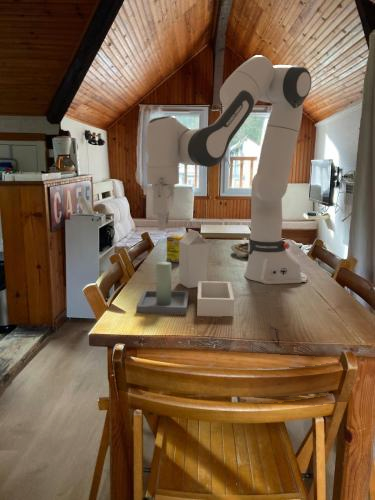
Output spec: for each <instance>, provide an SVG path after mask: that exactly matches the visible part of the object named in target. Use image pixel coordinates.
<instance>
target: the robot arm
mask: <svg viewBox="0 0 375 500" xmlns="http://www.w3.org/2000/svg"><path fill="white" fill-rule="evenodd" d="M311 88H312V76H311V74H310V71H309V69H307V68H306V67H304V66H302V65H295V64H294V65H285V64H278V65H274V64H273V63H272V62H271V60H270V59H269V58H267V57H266V56H265V55H264V56H263V55H254V56H252V57H251V58H248V59H247V60H246V61H244V62H243V63H242V64H240V66H238V67H237V68H236V69H235V70H233V72H232V73H231V74H230V75H229V76H228V77H227V79H225V81H224V83H223V84H222V85H221V87H220V89H219V99H220V103H221V105H222V106H223V108H224V110H223V111H221V112H222V113H221V114H220V115H219V116H218V118H217V119H216V120H215V121H214V122H213V123H212V124H210V125H208V126H206V127H202V128H195V129H191V128H190V127H187V126H186V125H184V124H182V123H181V122H180V121H179V120H178V119H177V118H176V116H174V115H166V116H160V117H154V118H152V119H150V120H149V122H147V123H148V124H147V127H146V135H145V136H146V141H145V146H146V149H145V150H146V154H147V162H146V183H147V185H151V190H152V214H153V215H154V216H157V217H156V218H157V223H158V230H159V231H165V230H166V225H168V224H169V222H170V220H169V219H170V210H171V208H172V207H173V203H174V197H175V196H174V195H175V185H178V184H180V164H182V165H184V166H185V165H186V166H187V165H188V166H201V167H207V168H212V167H215V166H217V165H219V164H220V163H221V162H222V161H223V160H224V158H225V156H226V154H227V151H228V148H229V146H230V143H231V142H232V140H233V138H234V137H235V135H236V134H237V133H238V131H239V130H240V129H241V127H242V125H244V123H245V122H246V121H247V119H248V117H249V116H250V114H251V113H252V111H253V109H254V106H255V105H256V104H257V102H259V103H262V102H264V103H268V104H271V111H270V114H269V117H268V120H267V125H266V127H265V131H264V136H263V139H262V140H263V141H262V144H261V147H260V154H259V159H258V165H257V170H256V174H255V175H254V176H253V178H252V180H251V190H250V191H251V195H250V196H251V197H250V201H251V202H250V203H251V204H250V205H251V206H250V207H251V209H250V211H251V214H250V215H251V216H250V237H249V239H248V242H247V243H248V253H249V258H248V259H247V264H246V268H245V271H244V275H243V276H244V277H245V278H246V279H248V280H252V281H253V282H254V281H255V282H258V283H262V284H264V285H277V284H278V285H279V284H280V285H282V284H301V282H305V283H306V282H308V277H307V275H306V274H305V273H304V272H302V270H301V269H302V268H301V264H300V262H299V260H298V259H297V258H296V257H295V256H293V255H292V254H291V253H290V252H289V251H288V249H290V247H291V246H290V244H289V243H288V241H284V240H283V239H282V233H283V231H282V230H283V204H282V200H283V197H285V195H286V193H287V190H288V185H289V181H290V175H291V171H292V170H291V169H292V163H293V157H294V153H295V149H296V145H297V142H298V138H299V133H300V130H301V126H302V125H301V124H302V118H303V110H304V109H303V107H304V105H303V103H304V102H305V100H306V99H307V97H308V95H309V94H310V91H311Z"/></svg>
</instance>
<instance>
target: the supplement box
mask: <svg viewBox="0 0 375 500" xmlns="http://www.w3.org/2000/svg"><path fill="white" fill-rule="evenodd" d="M184 236H185V235H178V234H170V235H168V236H166V262H170V263H171V264H178V265H179V241H180V240H181V239H182V238H183V237H184Z"/></svg>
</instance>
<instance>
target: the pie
mask: <svg viewBox="0 0 375 500" xmlns="http://www.w3.org/2000/svg"><path fill="white" fill-rule="evenodd" d="M248 243H249V242H244V243H242V242H241V243H236V244H232V245H231V246H230V249H231V251H232V252H233V253H234V254H235V255H237V256H236V257H237V258H239V259H244V260H245V259H247V260H248V258H249V253H248Z"/></svg>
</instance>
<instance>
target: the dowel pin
mask: <svg viewBox="0 0 375 500" xmlns="http://www.w3.org/2000/svg"><path fill="white" fill-rule="evenodd" d="M155 274H156V275H155V278H156V279H155V281H156V283H155V284H156V303H157V304H158V305H169V304H171V291H172V263H171V262H167V261H158V262H156V263H155Z"/></svg>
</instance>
